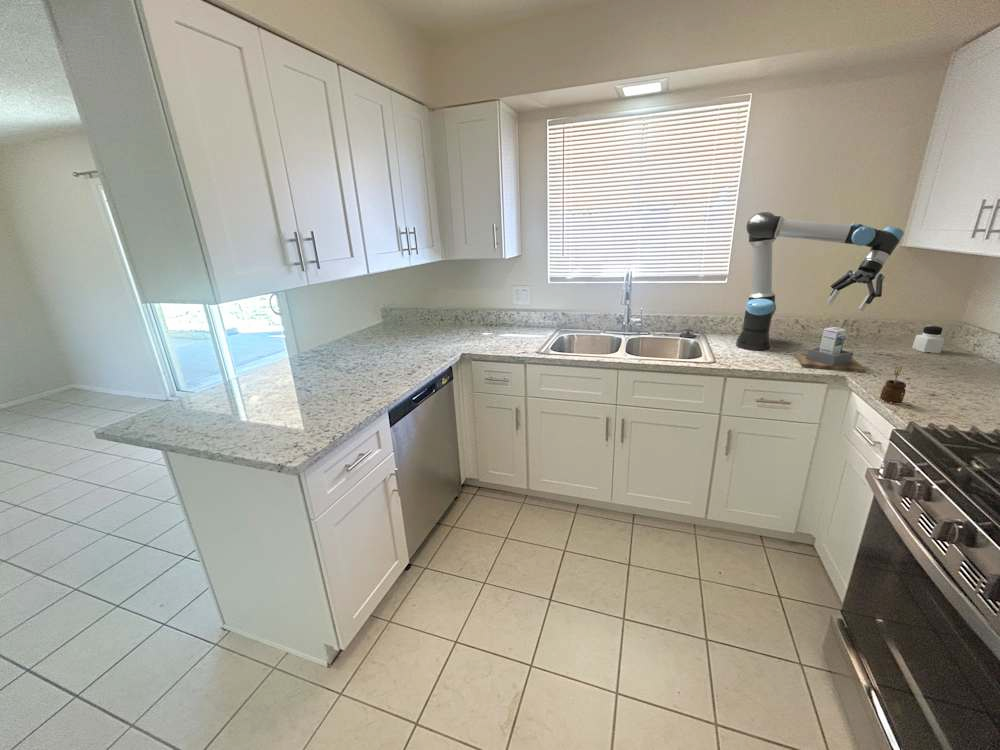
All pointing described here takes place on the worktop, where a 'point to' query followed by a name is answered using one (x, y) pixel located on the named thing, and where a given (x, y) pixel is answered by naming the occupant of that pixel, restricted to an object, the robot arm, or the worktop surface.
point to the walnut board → (810, 363)
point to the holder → (829, 357)
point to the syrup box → (833, 340)
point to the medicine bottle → (929, 340)
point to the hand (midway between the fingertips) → (844, 306)
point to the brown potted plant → (894, 389)
